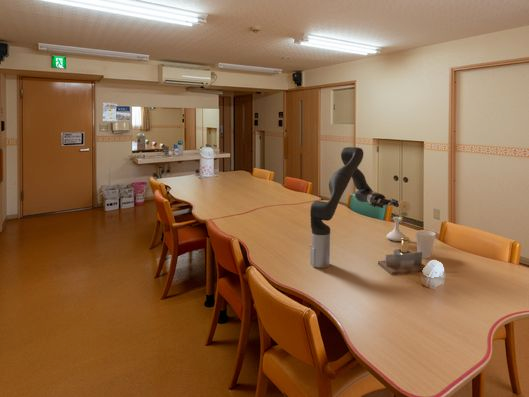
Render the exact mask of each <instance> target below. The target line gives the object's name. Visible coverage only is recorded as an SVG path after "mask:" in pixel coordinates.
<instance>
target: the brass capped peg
mask: <svg viewBox="0 0 529 397" xmlns="http://www.w3.org/2000/svg"><path fill="white" fill-rule="evenodd" d="M401 239H402V241H401V245H400V249H401V253H407V251H408V250H409V248H408V247H409V241H410V237H408V236H406V237H401Z"/></svg>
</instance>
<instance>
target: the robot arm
mask: <svg viewBox="0 0 529 397" xmlns="http://www.w3.org/2000/svg"><path fill="white" fill-rule="evenodd" d="M340 157H341V161H342V163H343V166H342V167H340V168H338V169H337V170H336V171H335V172H334V173H333V174H332V176H331V177H330V179H329V182H328V189H329V193H330V197H329V199H328V201H321V200H315V201H313V202H312V203H311V204H310V205H311V206H310V210H309V211H310V214H309V215H310V228H311V245H310V247H309V248H310V249H309V250H310V251H309V252H310V253H309V255H310V256H309V258H310V259H309V261H310V262H309V263H310V265H311V266H312V267H313V268H317V269H323V268H325V269H326V268H329V267H330V265H331V264H330V263H331V262H330V261H331V260H330V259H331V258H330V256H331V254H330V253H331V226H329V225H327V224H326V223H324V221H326V222H329V221H331V220H332V219H333V216H334V215H335V213H336V210H337V208H338V205H339V203H340V200H341V199H342V197H343V194H344V193H345V191H346V189H347V187H348V185H349V183H350V181H351V179H352V181H353V185H354V188H355V189H356V190H357V191H355V193H354V197H355V200H357V201H358V202H361V203H369V205H370V206H371V207H372V208H373V207H374V208H375V207H376V208H379V209H380V208H381V209H383V208H384V206H385V207H386V206H387V207H392V206H393V207H395V208H399V200H397V199H395V198H390V199H388V198H386V196H385V195H384V194H382V193H379V192H377V191H374V190H373V189H372V187H371V186H369V184H368V182H367V180H366V177H365V174H364V173H363V172H362V170H360V169H359V168H358V167H359V166H360V164H361V163H362V161H363V159H364V150H363V149H362V147H358V146H357V147H356V146H355V147H354V146H351V147H350V146H347V147H344V148H342V150H341V153H340Z"/></svg>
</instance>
